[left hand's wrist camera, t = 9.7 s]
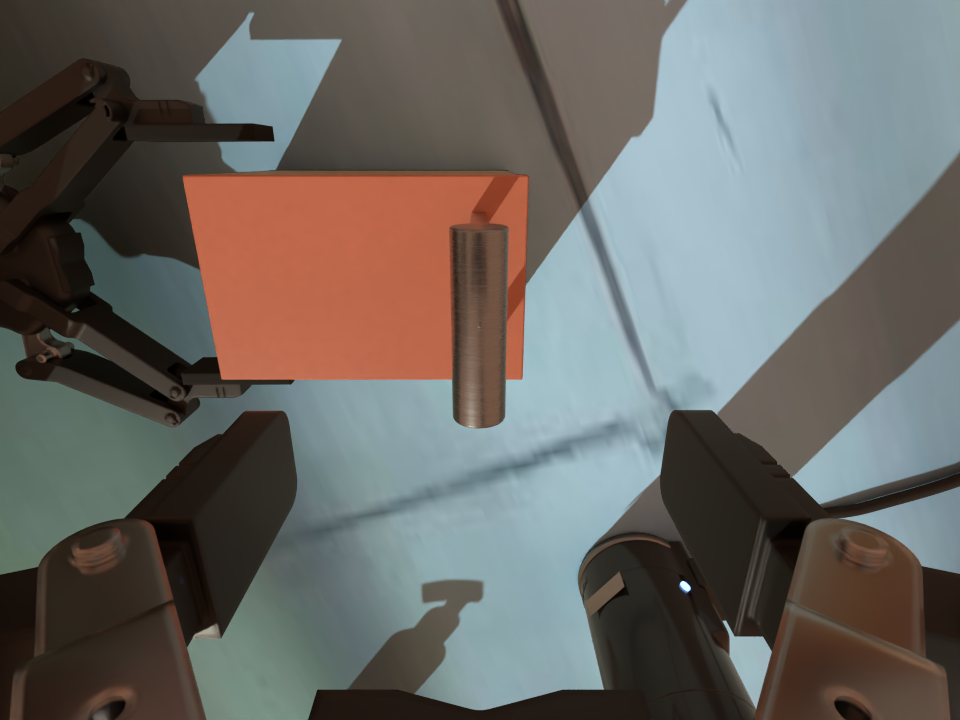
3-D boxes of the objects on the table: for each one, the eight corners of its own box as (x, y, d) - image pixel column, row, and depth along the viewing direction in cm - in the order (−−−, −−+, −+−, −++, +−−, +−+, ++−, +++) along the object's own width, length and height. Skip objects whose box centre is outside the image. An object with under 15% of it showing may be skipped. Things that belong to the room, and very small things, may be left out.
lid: (527, 174, 25) (551, 182, 16) (521, 372, 28) (538, 462, 20) (193, 174, 25) (44, 182, 16) (230, 372, 28) (124, 462, 20)
